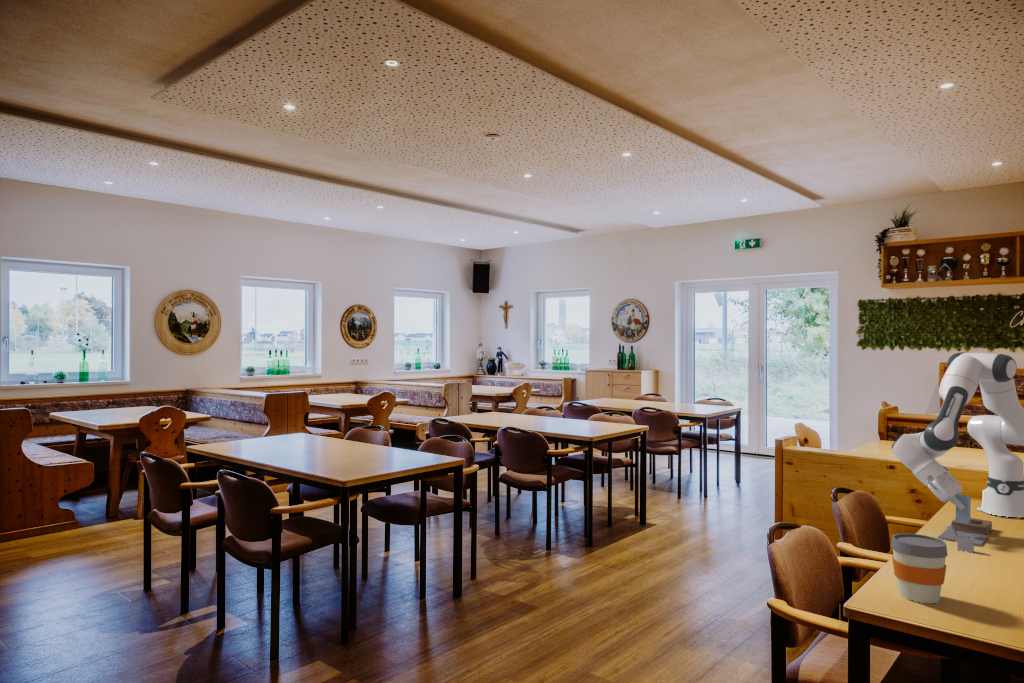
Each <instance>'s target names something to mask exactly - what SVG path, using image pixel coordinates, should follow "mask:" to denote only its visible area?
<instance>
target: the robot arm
mask: <svg viewBox="0 0 1024 683" xmlns="http://www.w3.org/2000/svg"><path fill="white" fill-rule="evenodd" d="M1016 374H1017V363H1016V361H1015V359H1014V358H1013V357H1012V356H1011V355H1007V354H1002V353H999V354H998V353H993V352H991V353H990V352H961V351H960V352H957V353H953V354H952V355H950V357H948V360H947V363H946V371H945V372H944V374H943V376H942V379H941V381H940V384H939V389H938V396H939V397H940V399H942V400H943V402H942V405H941V407H940V410H939V412H938V414H937V417H936V418H935V419H934V420H933V421H932V422H930V423H929V424H928V425H926V427H925V429H924V431H921V432H918V433H903V434H901V435H900V436H898V437H897V439H895V441H894V442H893V443H892V444H891V451H892V453H893V454H894V455H895V457H897V459H898V460H899V461H900V462H901V463H902V464H903V465H904V466H905V467H906V468H908V469H909V470H911V472H912V474H913V476H915V477H916V479H917V480H919V482H920V483H922V484H923V486H925V487H928V489H929V490H930V491H931V493H933V495H934V496H935V497H936V498H937V499H938V500H939V501H940V502H942V503H944V504H945V503H946V502H947V501H949V502H951V504H952V505H954V506H955V507H956V506H957V507H958V508H959V509H960V510H962V509H964V508H965V507H966V506H965V505H964V504H963V503H961V502H960V501H959V500H958V499H957V498H956V495H958V494H959V495H962V494H961V492H962V491H964V488H963V486H962V485H961V484H960V482H958V480H957V479H955V477H954V476H953V475H952V474H951V473H950V472H949V469H948V468H947V467H946V466H945V465H942V464H941V463H939V462H938V461H937V460H936V459H937V458H940V457H941V456H943V455H945V454H946V453H947V452H949V450H951V449H952V448H954V447H955V446H957V444H958V442H959V439H960V434H959V426H958V425H959V422H960V419H961V416H962V414H963V411H964V409H965V406H966V405H968V403H970V401H972V398H973V397H974V395H975V393H976V391H977V390H978V387H979V388H980V394H981V399H982V403H983V406H984V408H986V409H987V410H988V411H990V412H992V413H994V414H996V415H994V414H993V415H992V414H980V415H979V414H978V415H974V416H972V417H971V418H969V420H968V422H967V425H966V428H967V432H968V435H969V436H970V437H971V438H972V439H973V440H975V441H976V442H977V443H978V444H979V445H980V446H981V447H982V448H983V449H982V450H984V453H985V455H986V458H987V465H988V466H987V468H988V470H987V471H988V476H987V479H986V486H987V487H986V488H984V489H982V497H981V505H980V506H977V507H976V510H977V511H979V512H983V513H985V514H989V515H991V514H992V515H993V516H995V515H997V516H996V517H1001V516H1006V517H1005V518H1008V517H1020V516H1024V461H1023V460H1022V459H1021V457H1020V456H1018V455H1017V454H1015V453H1012V452H1011V451H1010V450H1009V449H1008V447H1007V445H1012V446H1013V445H1014V446H1023V447H1024V407H1023V406H1022V404H1021V402H1020V399H1019V397H1018V392H1017V389H1016V383H1015V376H1016Z"/></svg>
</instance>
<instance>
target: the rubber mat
mask: <svg viewBox="0 0 1024 683" xmlns="http://www.w3.org/2000/svg"><path fill="white" fill-rule="evenodd" d="M956 532H957V534H958V536H962V534H966V535H969V536H971V538H973V539H974V546H976V545H979V546H978V547H982V546H983V545H984V543H985V542H986V541H987V540H988V539H989V536H988V535H986V536H985V535H979V534H974V533H968V532H962V531H956ZM938 538H942V539H941V540H943V539H947V540H946V541H948V540H952V541H951V542H954V541H957V537H955V538H953V537H952V535H951V533H950V531H949V529H948V528H947V529H945V530H944V531H943V532H942V533H941V534H940V535H938V536H937V539H938ZM987 538H988V539H987ZM981 545H982V546H981Z"/></svg>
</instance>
